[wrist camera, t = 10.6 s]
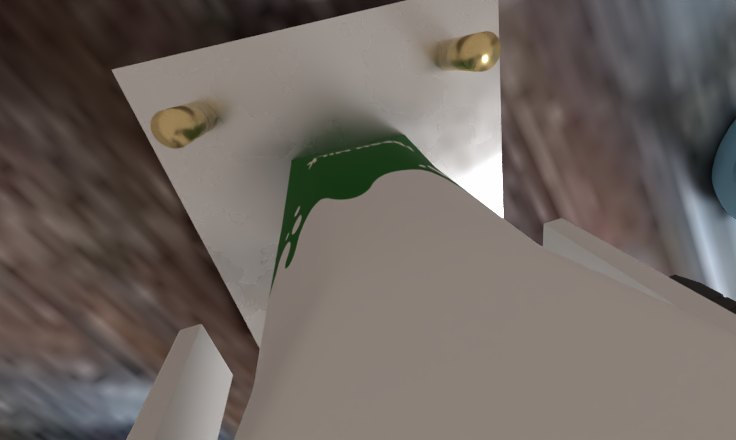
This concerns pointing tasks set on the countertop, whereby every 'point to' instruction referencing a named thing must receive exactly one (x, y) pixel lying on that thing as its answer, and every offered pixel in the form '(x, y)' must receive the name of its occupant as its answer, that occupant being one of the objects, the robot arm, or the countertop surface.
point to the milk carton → (462, 324)
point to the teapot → (726, 171)
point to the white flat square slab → (318, 118)
